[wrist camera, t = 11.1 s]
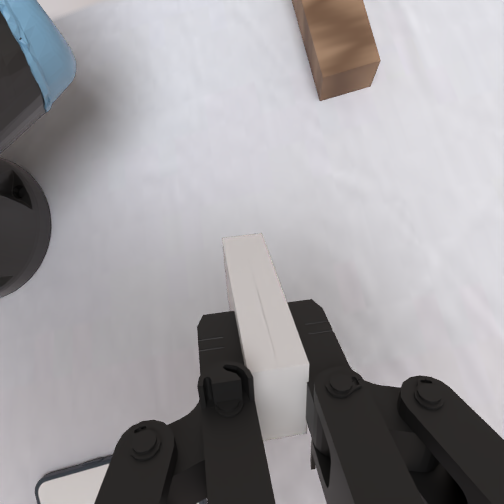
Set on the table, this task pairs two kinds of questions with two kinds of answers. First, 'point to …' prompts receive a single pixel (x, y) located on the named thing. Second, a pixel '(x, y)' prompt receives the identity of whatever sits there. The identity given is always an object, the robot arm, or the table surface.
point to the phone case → (74, 484)
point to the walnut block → (337, 45)
